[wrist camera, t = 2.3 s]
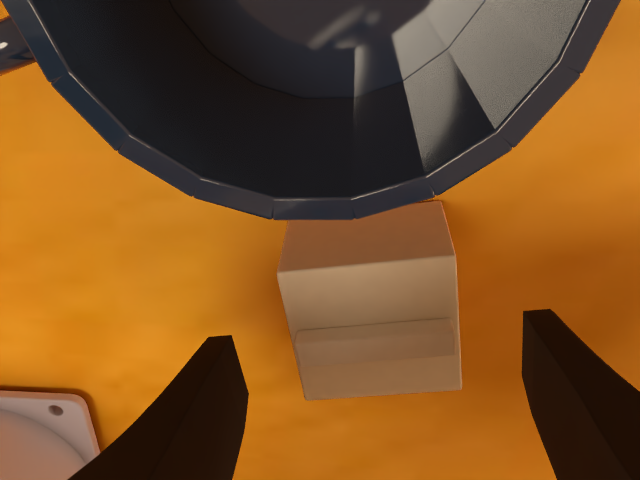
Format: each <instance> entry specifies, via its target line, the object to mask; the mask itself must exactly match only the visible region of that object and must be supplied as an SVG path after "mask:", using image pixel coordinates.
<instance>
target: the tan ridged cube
mask: <svg viewBox="0 0 640 480" xmlns="http://www.w3.org/2000/svg"><path fill="white" fill-rule="evenodd" d="M276 275H277V279H278V283H279V288H280V292H281V296H282V301H283V305H284V309H285V314H286V318H287V323H288V327H289V331H290V336H291V340H292V344H293V349H294V353H295V357H296V362H297V366H298V371H299V375H300V379H301V384H302V388H303V392H304V397H305V399H306V400H322V399H337V398H351V397H366V396H381V395H395V394H410V393H424V392H439V391H454V390H461V389H462V370H461V348H460V326H459V304H458V282H457V260H456V253H455V250H454V246H453V242H452V239H451V235H450V231H449V227H448V224H447V220H446V216H445V213H444V209H443V205H442V202H441V201H432V202H423V203H414V204H409V205H406V206H402V207H399V208H395V209H392V210H388V211H385V212H381V213H378V214H375V215H371V216H368V217H364V218H361V219H355V218H354V219H353V220H288V225H287V229H286V233H285V238H284V242H283V247H282V251H281V256H280V260H279V265H278V269H277V274H276Z"/></svg>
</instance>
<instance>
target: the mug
mask: <svg viewBox="0 0 640 480" xmlns="http://www.w3.org/2000/svg"><path fill="white" fill-rule="evenodd" d="M1 1H2V3H3V5H4V6H5V8H6V10H7V12H8V13H9V15H10V16H7V17H5V18H3V19H0V76H2V75H4V74H7V73H9V72H12V71H14V70H17V69H19V68H22V67H24V66H27V65H29V64H32V63H34V62H37V63H38V65H39V66H40V68H41V70H42V72H43V73H44V75H45V77H46V78H47V80H48V81H49V82H52V83H51V85H52V86H53V87H54V89H55V90H56V91H57V92H58V93H59V94H60V95H61V96H62V97H63V98H64V99H65V100H66V101H67V102H68V103H69V104H70V105H71V106H72V107H73V108H74V109H75V110H76V111H77V112H78V113H79V114H80V115H81V116H82V117H83V118H84V119H85V120H86V121H87V122H88V123H89V124H90V125H91V126H92V127H93V128H94V129H95V130H96V131H97V132H98V133H99V134H100V135H101V137H102V138H103V139H104V140H105V141H106V142H107V143H108V144H109V145H110V146H111V147H112V148H113V149H114V150H116V151H118V153H119V154H121V155H122V156H124V157H126V158H127V159H129V160H131V161H132V162H134V163H136V164H137V165H139V166H141V167H142V168H144V169H146V170H147V171H149V172H151V173H152V174H154V175H156V176H157V177H159V178H160V179H162V180H164V181H165V182H167V183H169V184H170V185H172V186H174V187H175V188H177V189H179V190H180V191H182V192H184V193H185V194H187V195H189V196H191V197H192V196H194V198H196V199H199V200H203V201H207V202H210V203H214V204H217V205H221V206H224V207H228V208H231V209H235V210H238V211H242V212H246V213H249V214H253V215H256V216H260V217H263V218H267V219H272V218H273V219H274V220H353V219H354V218H355V219H361V218H364V217H368V216H371V215H375V214H378V213H381V212H385V211H388V210H392V209H395V208H399V207H402V206H406V205H409V204H413V203H416V202H420V201H423V200H427V199H430V198H433V197H435V195H437V196H438V195H440V194H442V193H443V192H445V191H446V190H448V189H450V188H451V187H453V186H454V185H456V184H458V183H459V182H461V181H463V180H464V179H466V178H467V177H469V176H471V175H472V174H474V173H475V172H477V171H479V170H480V169H482V168H483V167H485V166H487V165H488V164H490V163H492V162H493V161H495V160H496V159H498V158H500V157H501V156H503V155H504V154H506V153H508V152H509V151H511V150H512V147H513V148H514V147H516V146H517V144H518V143H519V142H520V141H521V140H522V139H523V138H524V137H525V136H526V135H527V134H528V133H529V131H530V130H531V129H532V128H533V127H534V126H535V125H536V124H537V123H538V122H539V121H540V120H541V118H542V117H543V116H544V115H545V114H546V113H547V112H548V111H549V110H550V109H551V108H552V107H553V105H554V104H555V103H556V102H557V101H558V100H559V99H560V98H561V97H562V96H563V95H564V94H565V92H566V91H567V90H568V89H569V88H570V87H571V86H572V85H573V84H574V83H575V82H576V81H577V79H578V78H579V77H580V73H583V71H584V70H585V68H586V66H587V64H588V62H589V60H590V58H591V56H592V54H593V52H594V51H595V49H596V47H597V45H598V43H599V41H600V39H601V37H602V35H603V33H604V31H605V29H606V28H607V26H608V24H609V22H610V20H611V18H612V16H613V14H614V12H615V10H616V8H617V6H618V5H619V3H620V1H621V0H1Z"/></svg>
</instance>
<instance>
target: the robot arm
mask: <svg viewBox="0 0 640 480" xmlns="http://www.w3.org/2000/svg"><path fill="white" fill-rule="evenodd" d="M522 378H523V382H524V386H525V390H526V394H527V398H528V402H529V406H530V409H531V413H532V416H533V419H534V421H535V424H536V427H537V429H538V432H539V434H540V437H541V440H542V442H543V445H544V447H545V450H546V452H547V455H548V457H549V460H550V462H551V465H552V468H553V470H554V473H555V475H556V478H557V480H640V392H639V391H638V390H637V389H636V388H634V387H633V386H632V385H631V384H629V383H628V382H627V381H626V380H625V379H623V378H622V377H621V376H620V375H619V374H618V373H616V372H615V371H614V370H613V369H612V368H611V367H610V366H609V365H607V364H606V363H605V362H604V361H603V360H602V359H601V358H600V357H599V356H597V355H596V354H595V353H594V352H593V351H592V350H591V349H590V348H589V347H588V346H587V345H586V344H585V343H584V342H583V341H582V340H581V339H580V338H579V337H578V336H577V335H576V334H575V333H574V332H573V331H572V330H571V329H570V328H569V327H568V326H567V325H566V324H565V323H564V322H563V321H562V320H561V319H560V318H559V317H558V316H557V315H556V314H555V313H554V312H553V311H552V310H551V309H544V310H532V311H523V347H522ZM248 396H249V393H248V390H247V386H246V383H245V380H244V376H243V373H242V369H241V366H240V363H239V359H238V356H237V352H236V349H235V346H234V342H233V339H232V335H227V336H215V337H208V338H207V339H206V341H205V342H204V343H203V344H202V345H201V347H200V348H199V349H198V350H197V351H196V353H195V354H194V355H193V356H192V357H191V359H190V360H189V361H188V362H187V364H186V365H185V366H184V367H183V368H182V370H181V371H180V372H179V373H178V374H177V376H176V377H175V378H174V379H173V380H172V381H171V383H170V384H169V385H168V386H167V387H166V388H165V390H164V391H163V392H162V393H161V394H160V395H159V397H158V398H157V399H156V400H155V401H154V402H153V403H152V404H151V405H150V406H149V407H148V408H147V409H146V410H145V411H144V413H143V414H142V415H141V416H140V417H139V418H138V419H137V420H136V421H135V422H134V423H133V424H132V425H131V426H130V427H129V428H128V429H127V430H126V431H125V432H124V433H123V434H122V435H121V436H119V437H118V438H117V439H116V440H115V441H114V442H113V443H112V444H110V445H109V446H108V447H107V448H106V449H105V450H104V451H103V452H101V453H100V450H99V446H98V442H97V439H96V435H95V432H94V428H93V424H92V421H91V417H90V413H89V410H88V406H87V404H86V402H85V400H84V399H83V398H82V397H80V396H78V395H75V394H66V393H44V392H23V391H2V390H0V480H232V478H233V474H234V470H235V466H236V462H237V458H238V454H239V450H240V446H241V442H242V438H243V434H244V429H245V422H246V414H247V405H248ZM58 406H59V407H58Z"/></svg>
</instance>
